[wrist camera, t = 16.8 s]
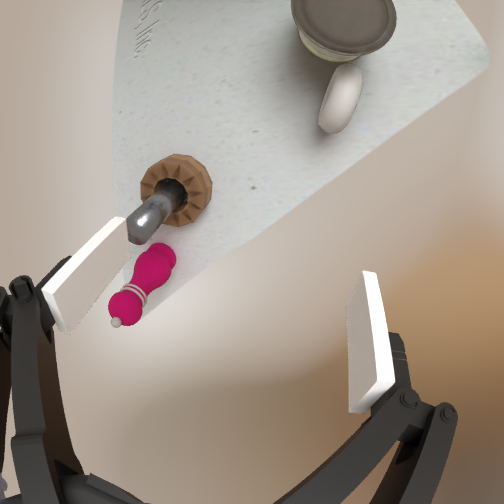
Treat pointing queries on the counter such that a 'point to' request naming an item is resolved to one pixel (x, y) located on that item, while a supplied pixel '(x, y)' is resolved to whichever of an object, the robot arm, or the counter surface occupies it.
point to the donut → (340, 98)
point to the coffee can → (344, 26)
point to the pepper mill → (141, 284)
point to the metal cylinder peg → (154, 211)
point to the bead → (186, 174)
